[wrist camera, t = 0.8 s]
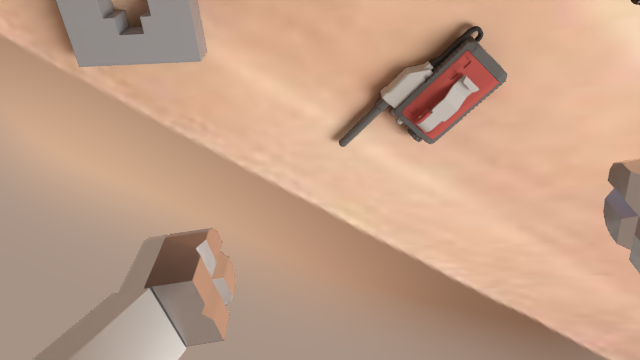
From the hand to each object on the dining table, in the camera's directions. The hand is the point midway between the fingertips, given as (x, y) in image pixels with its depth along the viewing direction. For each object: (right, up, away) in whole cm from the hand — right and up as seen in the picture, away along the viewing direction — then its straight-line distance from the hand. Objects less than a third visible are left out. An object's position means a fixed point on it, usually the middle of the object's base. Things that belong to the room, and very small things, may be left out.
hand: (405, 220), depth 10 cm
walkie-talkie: (+10, +10, +45) cm, 47 cm away
